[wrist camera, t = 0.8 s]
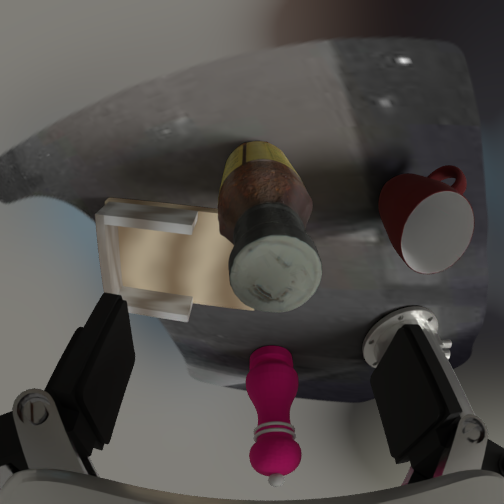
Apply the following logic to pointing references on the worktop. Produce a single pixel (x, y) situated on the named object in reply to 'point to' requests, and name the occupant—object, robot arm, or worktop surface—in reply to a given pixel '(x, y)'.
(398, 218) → the mug
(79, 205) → the worktop surface
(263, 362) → the pepper mill
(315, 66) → the worktop surface
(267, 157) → the sauce bottle
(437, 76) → the worktop surface
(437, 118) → the worktop surface
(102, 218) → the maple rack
